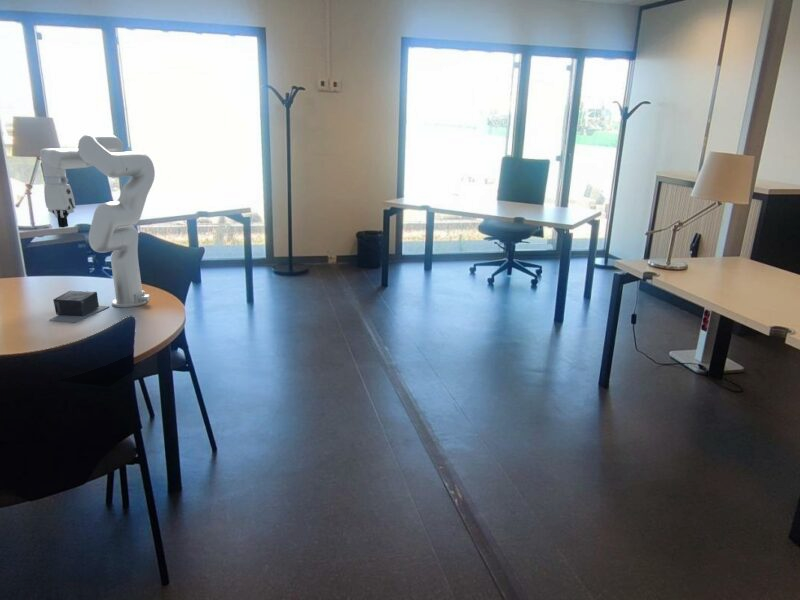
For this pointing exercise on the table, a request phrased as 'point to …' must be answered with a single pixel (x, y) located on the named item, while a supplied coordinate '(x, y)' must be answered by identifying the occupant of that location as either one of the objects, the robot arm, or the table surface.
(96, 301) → the small box
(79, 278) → the table surface
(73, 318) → the mat
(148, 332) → the table surface
